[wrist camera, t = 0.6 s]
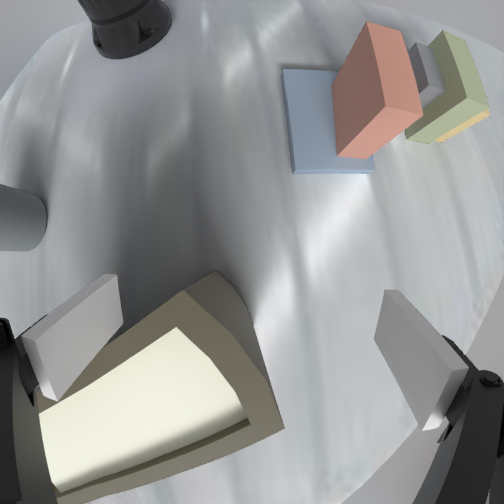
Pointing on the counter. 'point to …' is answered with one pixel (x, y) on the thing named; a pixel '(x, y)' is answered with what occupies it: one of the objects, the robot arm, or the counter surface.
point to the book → (161, 398)
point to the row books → (451, 94)
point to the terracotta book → (374, 93)
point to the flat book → (315, 124)
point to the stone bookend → (426, 73)
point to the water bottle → (20, 219)
